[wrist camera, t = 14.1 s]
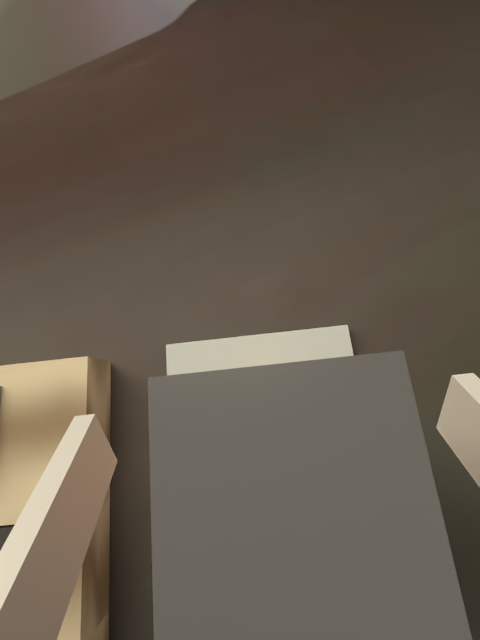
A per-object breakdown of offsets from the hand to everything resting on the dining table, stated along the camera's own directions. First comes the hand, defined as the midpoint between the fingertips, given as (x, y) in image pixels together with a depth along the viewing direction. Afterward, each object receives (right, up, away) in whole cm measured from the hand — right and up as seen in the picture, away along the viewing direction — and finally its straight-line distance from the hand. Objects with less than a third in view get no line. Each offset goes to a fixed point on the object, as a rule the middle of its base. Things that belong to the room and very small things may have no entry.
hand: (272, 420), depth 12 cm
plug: (0, -3, +7) cm, 8 cm away
